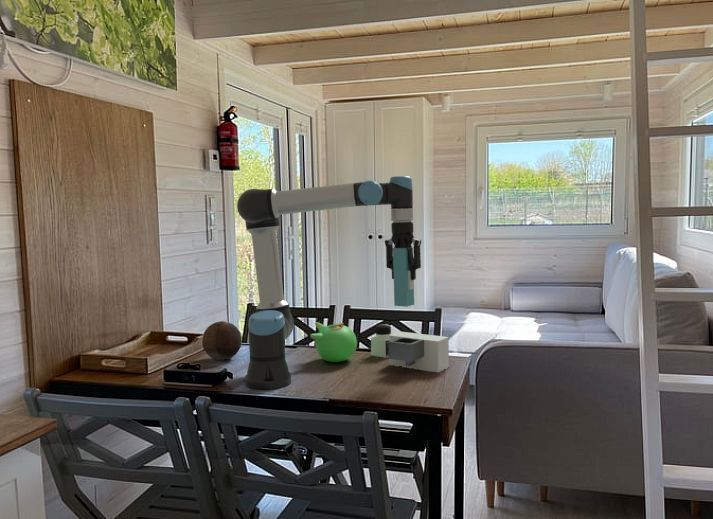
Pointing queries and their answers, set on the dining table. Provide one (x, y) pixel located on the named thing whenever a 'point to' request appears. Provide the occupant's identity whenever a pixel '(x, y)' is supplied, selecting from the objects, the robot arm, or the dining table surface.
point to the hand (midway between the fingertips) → (404, 288)
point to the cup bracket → (406, 350)
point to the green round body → (334, 342)
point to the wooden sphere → (221, 340)
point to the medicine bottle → (381, 341)
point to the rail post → (401, 278)
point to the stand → (427, 352)
